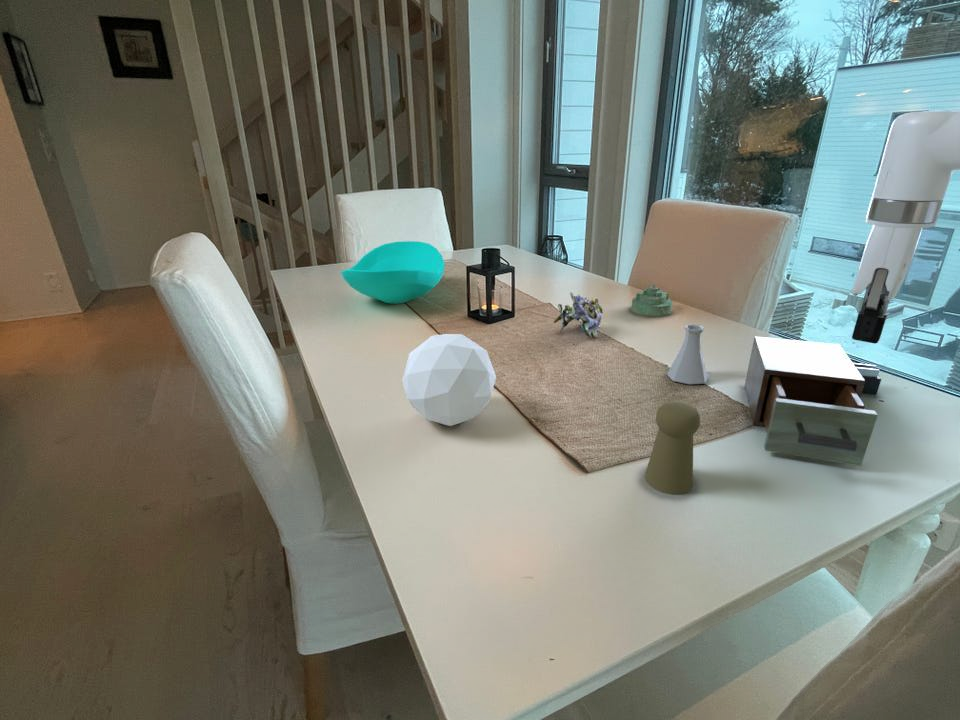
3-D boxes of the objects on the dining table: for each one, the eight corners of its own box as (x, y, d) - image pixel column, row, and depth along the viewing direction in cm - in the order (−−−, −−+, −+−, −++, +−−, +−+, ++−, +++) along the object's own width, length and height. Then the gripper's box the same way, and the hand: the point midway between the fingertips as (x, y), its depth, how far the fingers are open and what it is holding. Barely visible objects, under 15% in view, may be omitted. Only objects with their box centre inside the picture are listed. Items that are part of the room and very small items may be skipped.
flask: (668, 384, 93) (675, 332, 90) (664, 368, 100) (671, 319, 96) (710, 387, 92) (719, 335, 88) (704, 370, 98) (712, 321, 94)
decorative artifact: (630, 314, 130) (671, 317, 127) (633, 288, 127) (675, 290, 124) (632, 303, 139) (671, 306, 136) (634, 278, 136) (674, 280, 133)
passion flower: (591, 358, 119) (598, 329, 108) (546, 345, 121) (549, 316, 111) (602, 320, 124) (611, 289, 113) (559, 309, 126) (563, 277, 116)
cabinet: (847, 439, 75) (865, 380, 72) (752, 425, 80) (764, 369, 76) (825, 396, 88) (839, 344, 84) (744, 386, 92) (754, 336, 88)
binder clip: (871, 387, 90) (878, 364, 89) (876, 394, 88) (884, 371, 86) (838, 383, 92) (844, 361, 90) (842, 390, 89) (849, 367, 88)
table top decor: (432, 323, 128) (429, 270, 122) (325, 322, 130) (318, 271, 125) (454, 282, 164) (452, 240, 159) (370, 282, 167) (365, 241, 161)
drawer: (871, 486, 64) (889, 432, 61) (769, 468, 68) (781, 417, 65) (836, 417, 79) (849, 372, 76) (754, 406, 83) (764, 362, 80)
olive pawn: (696, 474, 68) (709, 401, 64) (688, 500, 64) (701, 423, 59) (650, 461, 71) (660, 391, 67) (639, 485, 67) (648, 411, 62)
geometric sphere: (442, 433, 89) (439, 350, 93) (515, 424, 81) (510, 334, 85) (383, 428, 78) (383, 333, 81) (461, 416, 70) (458, 312, 73)
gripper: (877, 205, 76) (845, 322, 83) (858, 217, 66) (824, 348, 73) (942, 208, 71) (903, 332, 79) (933, 222, 61) (889, 361, 69)
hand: (865, 339), depth 76 cm, fingers closed
